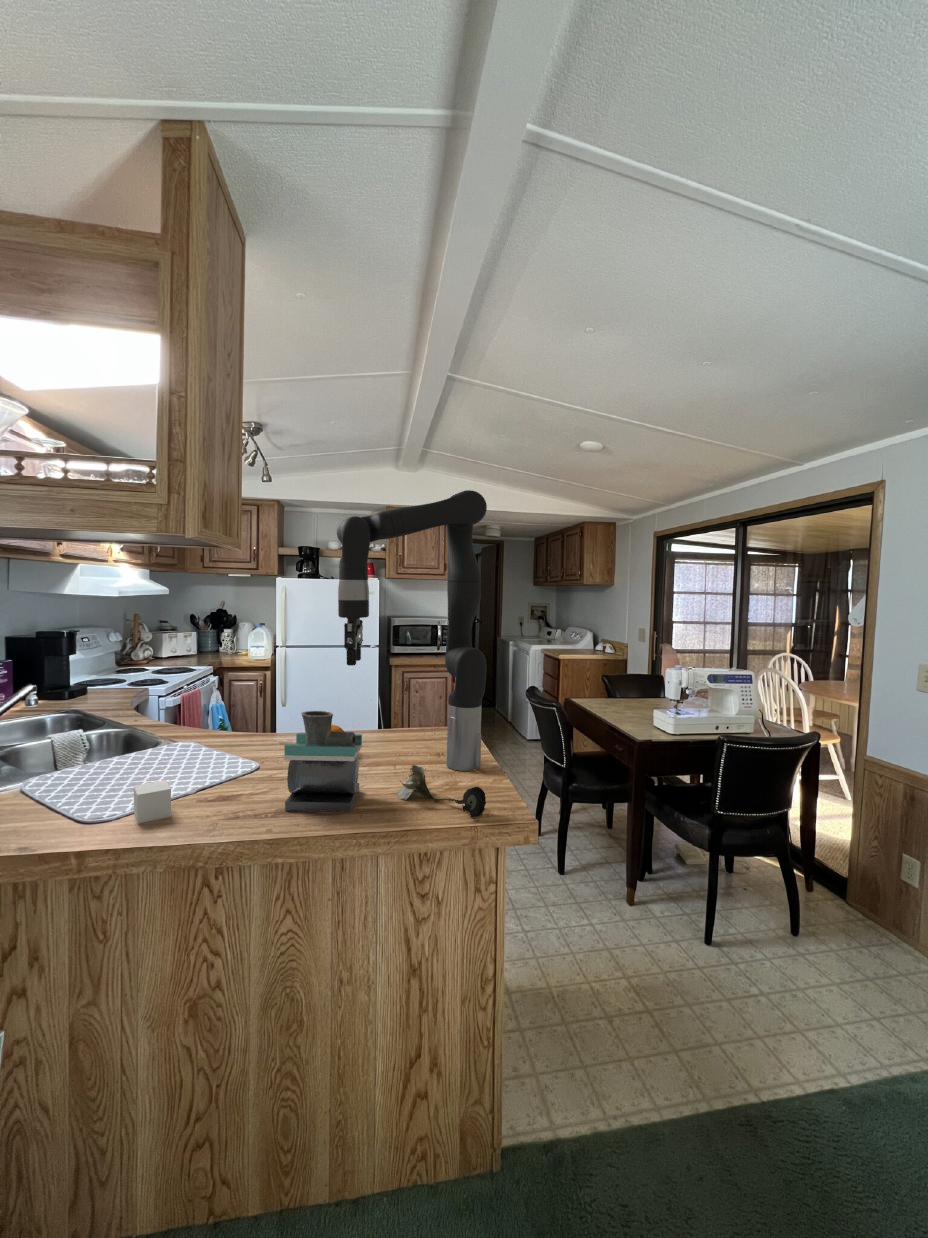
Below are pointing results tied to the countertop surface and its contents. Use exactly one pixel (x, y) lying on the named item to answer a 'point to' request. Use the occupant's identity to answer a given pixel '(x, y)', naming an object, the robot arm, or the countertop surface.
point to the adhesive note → (152, 801)
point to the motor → (322, 776)
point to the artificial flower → (471, 798)
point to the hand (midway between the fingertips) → (354, 662)
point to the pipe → (324, 730)
